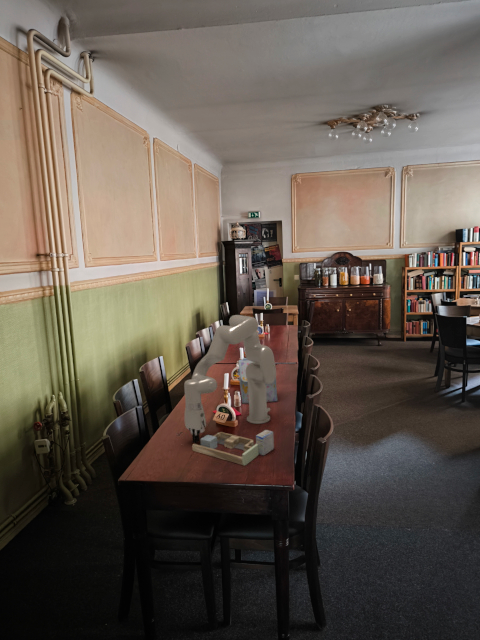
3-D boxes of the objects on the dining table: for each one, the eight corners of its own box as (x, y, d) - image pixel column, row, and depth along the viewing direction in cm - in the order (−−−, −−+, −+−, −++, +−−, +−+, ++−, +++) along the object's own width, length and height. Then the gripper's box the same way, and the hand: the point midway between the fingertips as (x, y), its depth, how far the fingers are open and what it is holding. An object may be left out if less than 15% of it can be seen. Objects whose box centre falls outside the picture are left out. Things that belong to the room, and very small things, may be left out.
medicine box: (266, 446, 201) (265, 429, 200) (274, 449, 198) (273, 431, 197) (256, 453, 195) (255, 435, 194) (264, 456, 192) (263, 437, 191)
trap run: (215, 436, 215) (215, 430, 214) (263, 448, 199) (263, 442, 199) (192, 450, 200) (192, 444, 200) (242, 465, 185) (242, 458, 184)
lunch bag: (240, 406, 255) (238, 362, 250) (239, 396, 271) (237, 355, 267) (278, 403, 255) (276, 360, 251) (275, 394, 272) (273, 353, 268)
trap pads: (220, 438, 211) (220, 438, 211) (250, 446, 202) (250, 446, 202) (214, 442, 208) (214, 442, 208) (245, 450, 198) (245, 450, 198)
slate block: (208, 444, 207) (207, 434, 206) (217, 446, 203) (216, 436, 203) (201, 449, 202) (200, 439, 201) (210, 451, 199) (209, 441, 198)
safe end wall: (256, 454, 194) (256, 443, 193) (258, 454, 193) (258, 444, 193) (242, 465, 185) (242, 454, 184) (244, 465, 184) (244, 454, 183)
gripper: (211, 405, 203) (213, 442, 206) (186, 400, 211) (189, 435, 214) (200, 410, 197) (203, 448, 200) (176, 405, 205) (179, 441, 208)
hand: (196, 441), depth 207 cm, fingers closed
